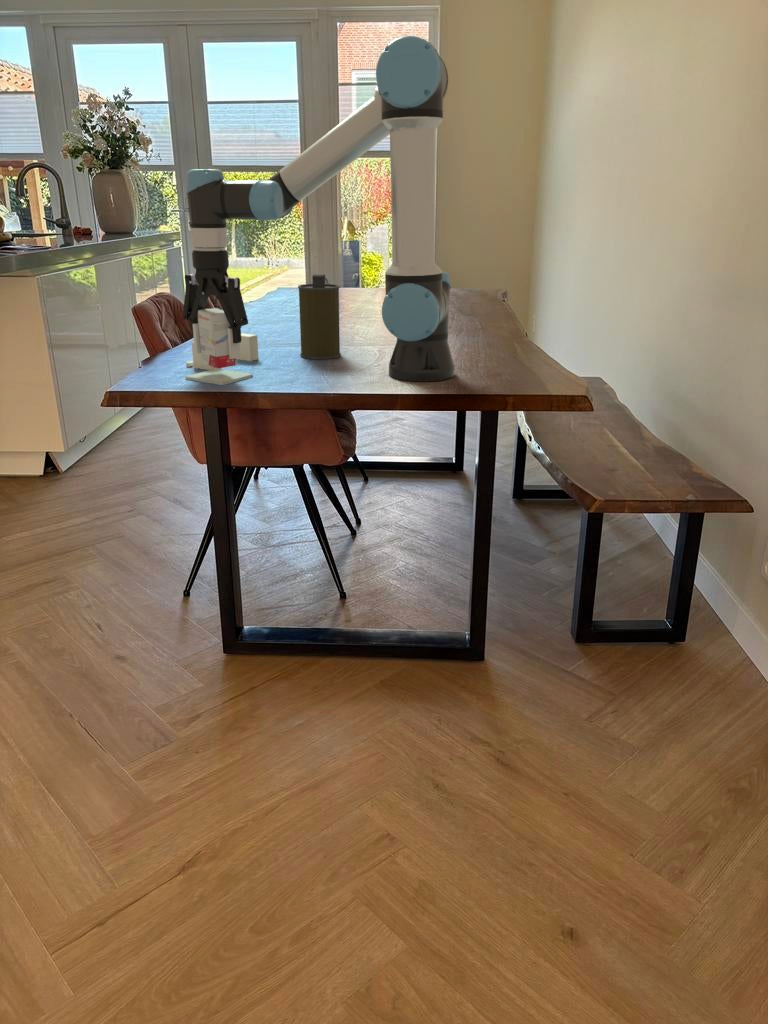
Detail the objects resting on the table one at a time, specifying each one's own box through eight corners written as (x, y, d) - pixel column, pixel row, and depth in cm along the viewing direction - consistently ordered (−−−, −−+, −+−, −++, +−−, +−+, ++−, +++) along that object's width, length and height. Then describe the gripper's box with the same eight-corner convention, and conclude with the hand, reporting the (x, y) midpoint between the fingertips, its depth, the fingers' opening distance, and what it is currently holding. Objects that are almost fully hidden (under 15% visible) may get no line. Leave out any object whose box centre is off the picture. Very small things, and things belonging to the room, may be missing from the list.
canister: (339, 359, 192) (338, 277, 184) (298, 359, 192) (295, 276, 184) (341, 351, 202) (340, 272, 194) (302, 351, 202) (299, 272, 194)
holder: (258, 359, 192) (257, 335, 189) (212, 370, 179) (210, 345, 176) (233, 355, 196) (231, 331, 193) (186, 366, 183) (184, 341, 180)
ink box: (236, 367, 169) (233, 312, 164) (214, 369, 166) (210, 314, 161) (221, 360, 175) (217, 307, 171) (200, 362, 173) (195, 308, 168)
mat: (252, 376, 173) (252, 374, 173) (222, 385, 165) (222, 382, 165) (216, 371, 178) (216, 368, 178) (185, 379, 170) (185, 376, 170)
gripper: (262, 250, 159) (267, 358, 168) (184, 246, 170) (193, 347, 178) (237, 252, 153) (244, 363, 162) (159, 247, 164) (169, 352, 172)
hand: (217, 355), depth 170 cm, fingers closed on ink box, 10 cm apart
